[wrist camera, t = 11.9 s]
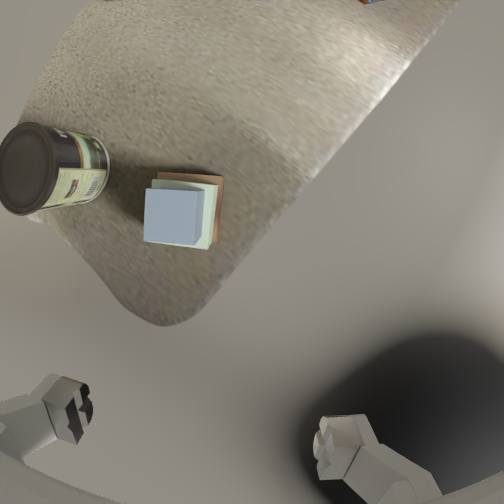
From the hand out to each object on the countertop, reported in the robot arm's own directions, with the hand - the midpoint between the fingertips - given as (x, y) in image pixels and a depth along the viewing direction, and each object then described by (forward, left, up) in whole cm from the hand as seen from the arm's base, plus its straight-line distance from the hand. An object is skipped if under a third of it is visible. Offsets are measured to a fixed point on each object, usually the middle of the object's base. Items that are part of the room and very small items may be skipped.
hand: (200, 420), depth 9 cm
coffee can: (-8, -24, -33) cm, 42 cm away
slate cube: (-4, -6, -26) cm, 27 cm away
